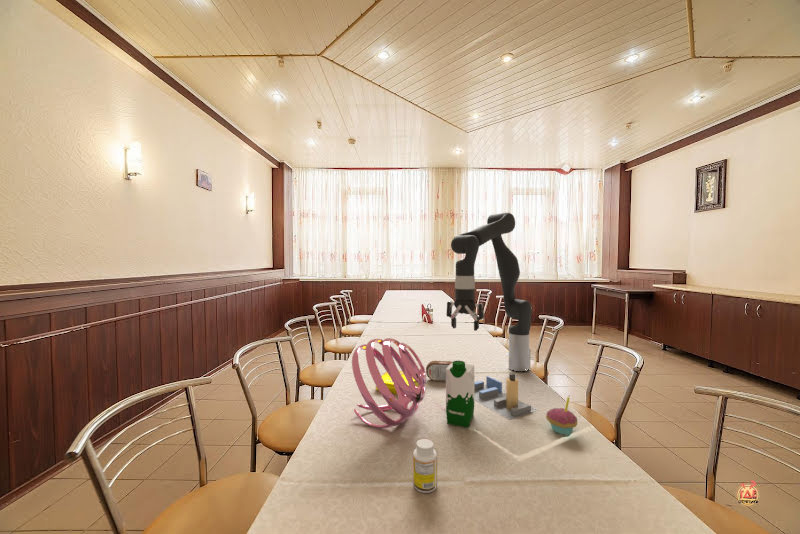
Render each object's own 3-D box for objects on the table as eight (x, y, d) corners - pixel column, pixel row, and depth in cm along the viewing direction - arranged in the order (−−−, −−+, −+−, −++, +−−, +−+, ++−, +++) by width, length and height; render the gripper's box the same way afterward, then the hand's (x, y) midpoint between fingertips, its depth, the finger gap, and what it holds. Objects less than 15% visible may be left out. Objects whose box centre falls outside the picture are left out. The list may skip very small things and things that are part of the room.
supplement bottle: (422, 474, 81) (422, 434, 81) (441, 484, 78) (441, 442, 77) (408, 487, 77) (408, 444, 77) (427, 498, 73) (427, 453, 73)
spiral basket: (311, 366, 104) (381, 320, 99) (353, 361, 129) (409, 324, 125) (349, 455, 94) (428, 409, 89) (385, 431, 119) (448, 394, 115)
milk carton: (443, 424, 106) (443, 362, 105) (451, 412, 114) (451, 355, 113) (470, 430, 102) (470, 366, 101) (476, 417, 110) (476, 358, 110)
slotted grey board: (485, 386, 136) (485, 374, 136) (538, 412, 113) (538, 398, 113) (458, 393, 129) (458, 381, 129) (509, 422, 106) (509, 407, 106)
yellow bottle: (511, 404, 117) (511, 371, 117) (520, 409, 114) (521, 375, 113) (503, 407, 115) (503, 373, 115) (512, 411, 112) (512, 377, 111)
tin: (460, 380, 144) (460, 360, 143) (461, 382, 140) (461, 363, 140) (426, 378, 145) (425, 360, 145) (425, 381, 142) (425, 362, 142)
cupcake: (574, 428, 103) (575, 390, 102) (579, 443, 95) (580, 402, 94) (544, 424, 106) (545, 387, 105) (547, 437, 98) (547, 398, 97)
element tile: (374, 391, 132) (374, 379, 132) (389, 378, 146) (389, 368, 146) (408, 397, 127) (408, 385, 127) (421, 383, 141) (421, 372, 141)
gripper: (486, 287, 126) (485, 329, 127) (451, 285, 133) (451, 325, 134) (480, 289, 120) (480, 333, 120) (443, 287, 127) (443, 329, 127)
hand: (464, 329), depth 127 cm, fingers open, 8 cm apart
